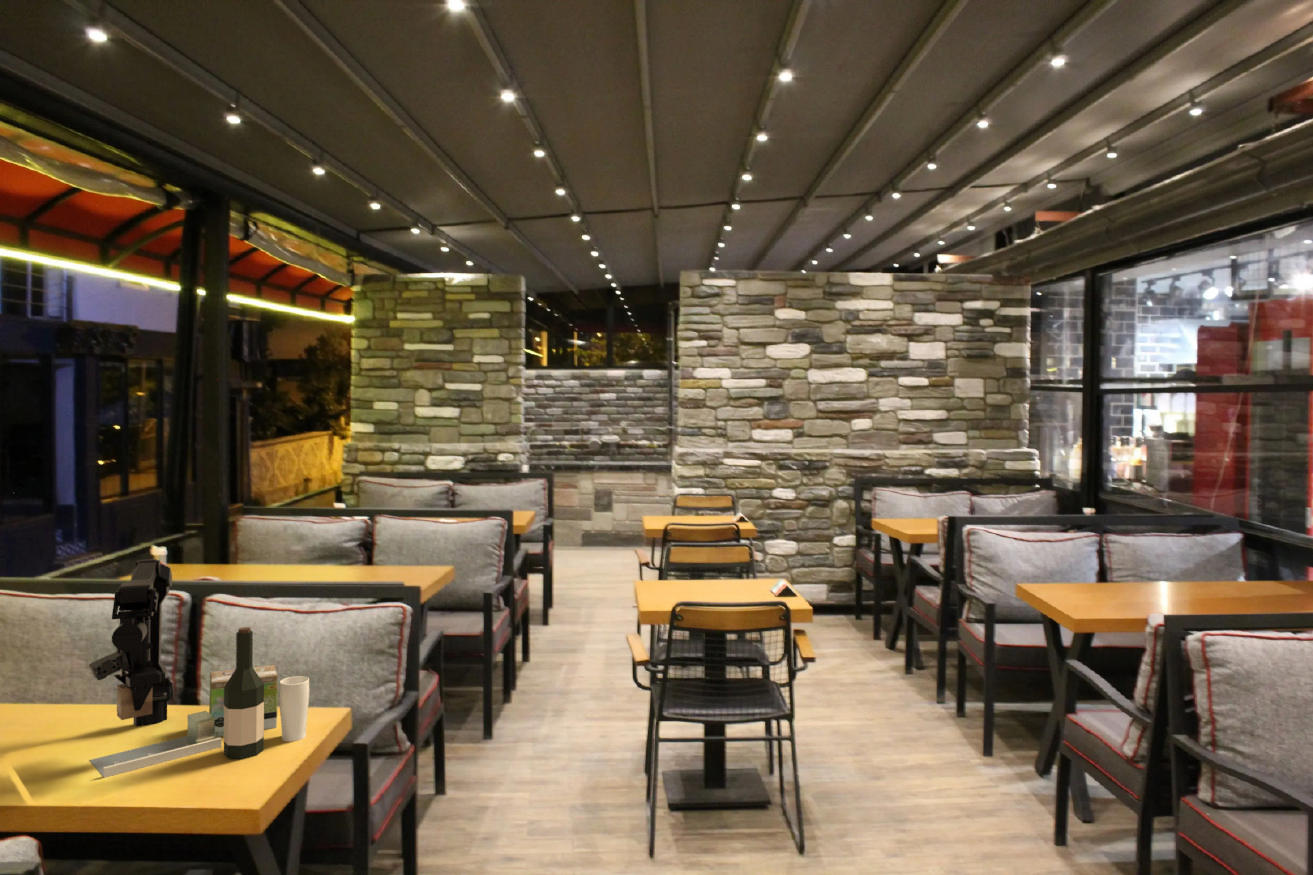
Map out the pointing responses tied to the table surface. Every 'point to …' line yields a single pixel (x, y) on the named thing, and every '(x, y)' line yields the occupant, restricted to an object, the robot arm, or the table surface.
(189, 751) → the display board
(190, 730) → the sage tin
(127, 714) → the block
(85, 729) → the table surface
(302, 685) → the drinking glass
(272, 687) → the tea box
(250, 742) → the wine bottle
